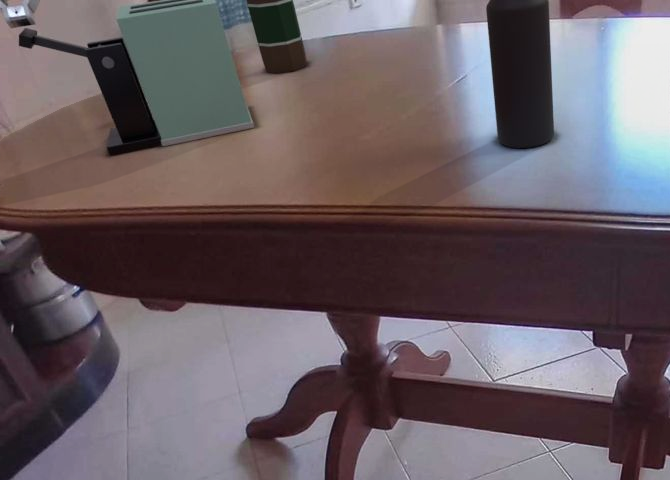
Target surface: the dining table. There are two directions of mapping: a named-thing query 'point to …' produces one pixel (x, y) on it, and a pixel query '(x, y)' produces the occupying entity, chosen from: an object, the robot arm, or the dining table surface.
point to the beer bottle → (278, 35)
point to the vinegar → (521, 71)
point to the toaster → (185, 68)
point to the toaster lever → (49, 43)
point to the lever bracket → (122, 97)
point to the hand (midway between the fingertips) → (21, 23)
